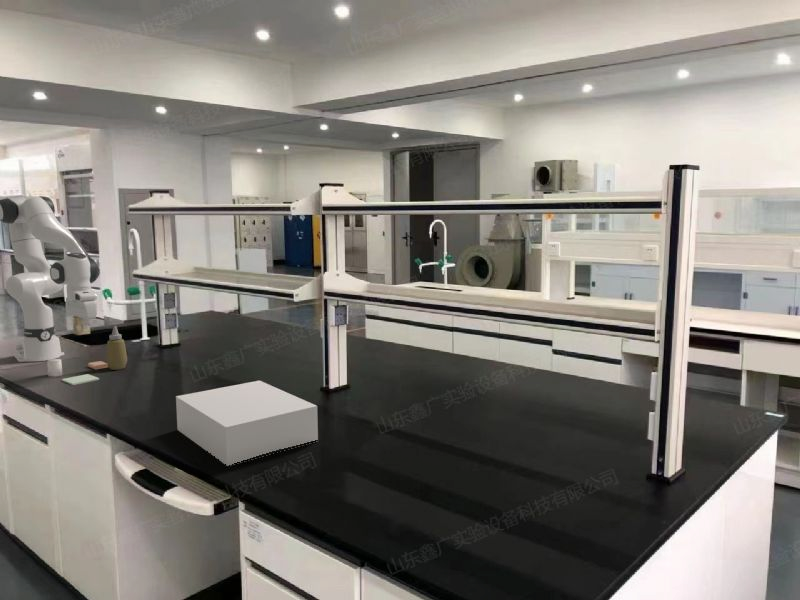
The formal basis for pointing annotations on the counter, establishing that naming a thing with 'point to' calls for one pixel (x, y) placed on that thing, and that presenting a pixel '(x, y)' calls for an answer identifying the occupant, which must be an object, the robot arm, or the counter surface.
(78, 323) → the maple block
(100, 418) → the counter surface
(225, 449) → the box
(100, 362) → the terracotta tile
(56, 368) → the white rounded dome
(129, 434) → the counter surface
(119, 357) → the squeeze bottle
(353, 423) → the counter surface
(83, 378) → the mat
